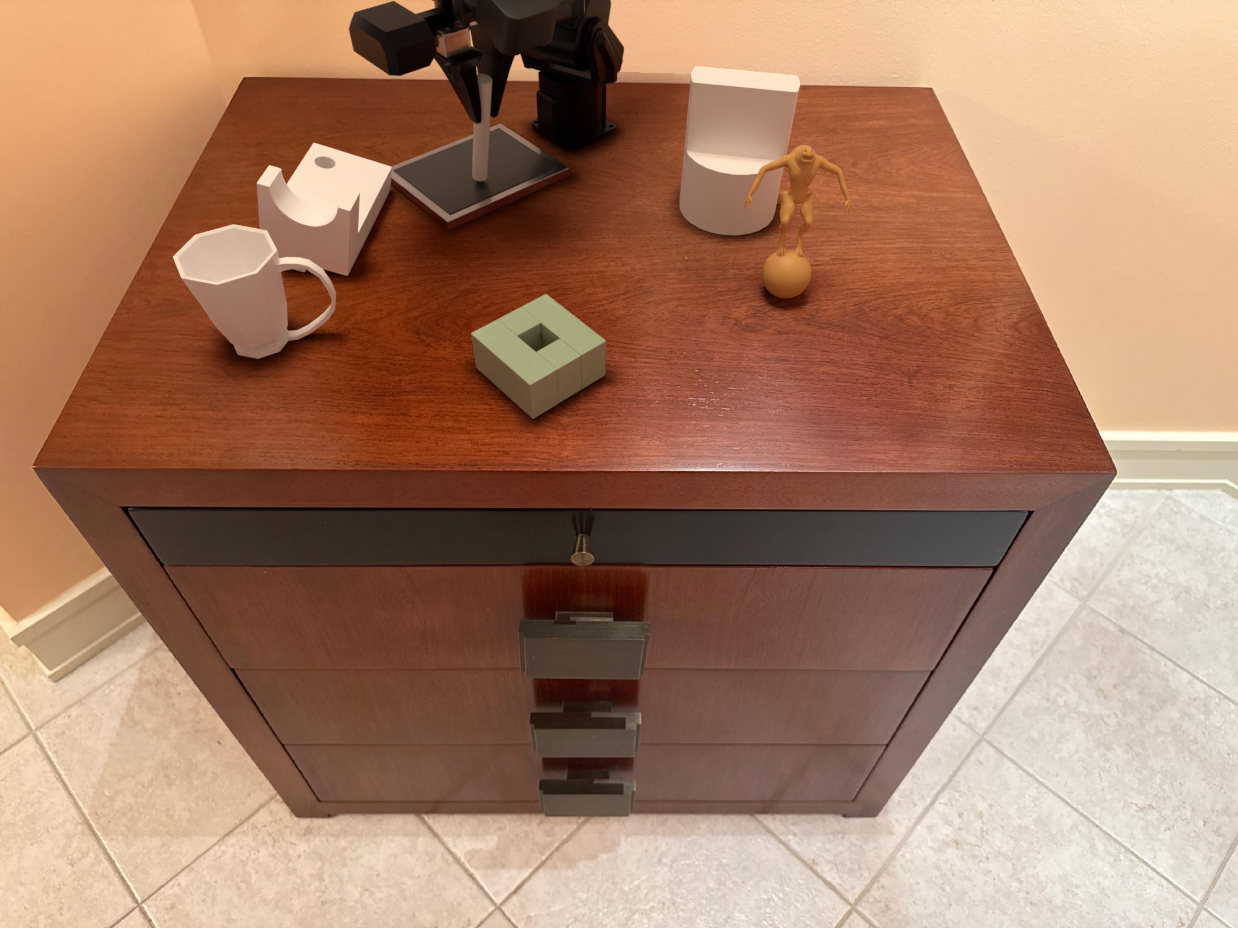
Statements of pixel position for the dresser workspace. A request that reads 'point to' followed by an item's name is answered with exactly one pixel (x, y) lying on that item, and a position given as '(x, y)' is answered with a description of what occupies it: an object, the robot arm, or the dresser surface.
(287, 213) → the bracket
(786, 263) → the figurine
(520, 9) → the robot arm
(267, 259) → the cup
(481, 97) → the stylus
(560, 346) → the pen stand
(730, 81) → the cylinder with rectangular tab
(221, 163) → the dresser surface
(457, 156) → the tablet
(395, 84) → the dresser surface
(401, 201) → the dresser surface
